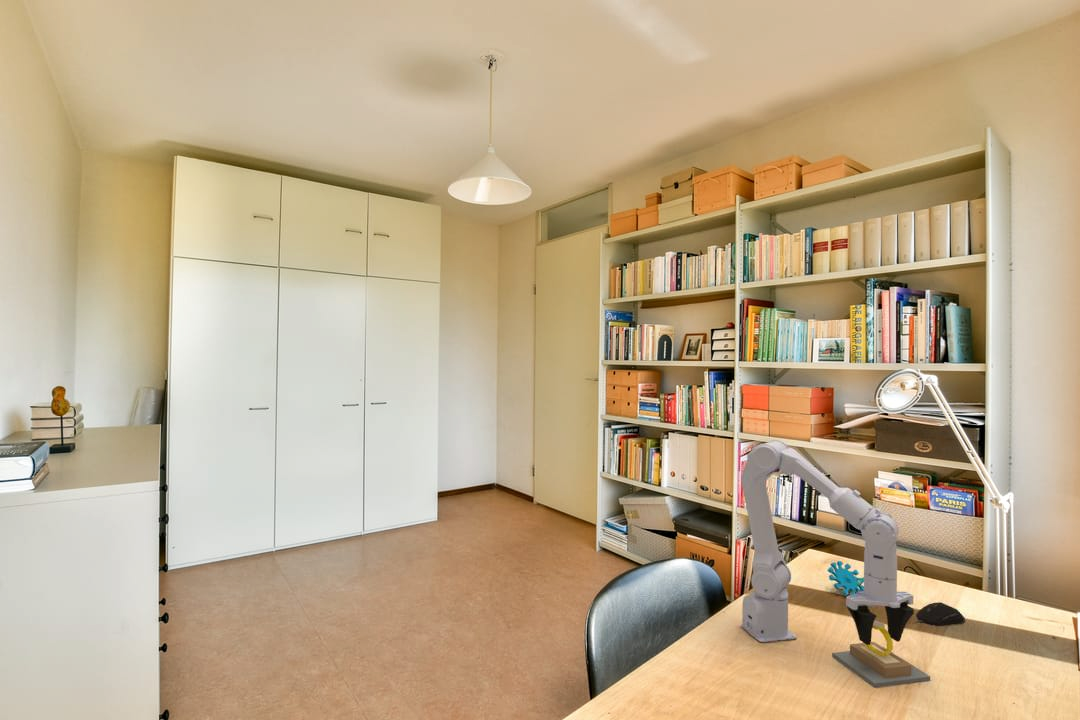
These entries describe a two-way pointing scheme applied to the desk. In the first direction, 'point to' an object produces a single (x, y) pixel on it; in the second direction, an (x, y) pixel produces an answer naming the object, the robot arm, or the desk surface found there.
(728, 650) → the desk surface
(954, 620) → the gaming mouse
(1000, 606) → the desk surface
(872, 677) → the base board
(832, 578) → the blue virus model
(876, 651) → the watch
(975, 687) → the desk surface
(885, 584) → the robot arm
